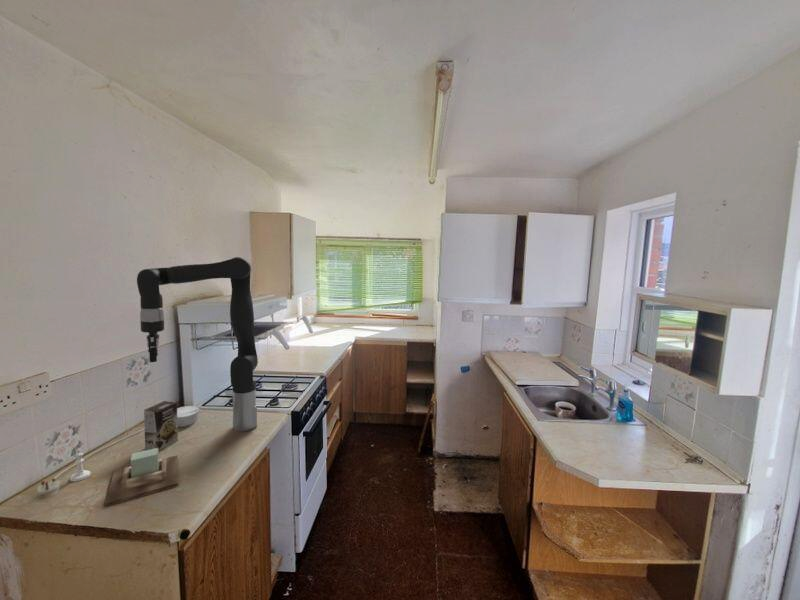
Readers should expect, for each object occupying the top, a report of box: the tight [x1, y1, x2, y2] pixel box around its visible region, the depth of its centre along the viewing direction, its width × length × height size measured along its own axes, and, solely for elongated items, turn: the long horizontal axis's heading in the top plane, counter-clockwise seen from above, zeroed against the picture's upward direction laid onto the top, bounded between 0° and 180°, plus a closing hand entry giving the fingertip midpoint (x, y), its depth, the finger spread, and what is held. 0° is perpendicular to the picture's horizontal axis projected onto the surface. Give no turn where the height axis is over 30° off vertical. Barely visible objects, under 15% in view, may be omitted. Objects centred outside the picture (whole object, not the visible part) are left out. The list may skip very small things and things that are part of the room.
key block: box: [130, 448, 160, 478], centre depth 111 cm, size 4×7×8 cm, turn 124°
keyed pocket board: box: [105, 454, 179, 507], centre depth 111 cm, size 18×18×4 cm
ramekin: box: [177, 405, 200, 428], centre depth 150 cm, size 11×11×5 cm
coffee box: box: [143, 400, 179, 453], centre depth 131 cm, size 9×6×16 cm
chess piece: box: [69, 447, 91, 482], centre depth 110 cm, size 5×5×10 cm
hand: (153, 358), depth 133 cm, fingers open, 8 cm apart
